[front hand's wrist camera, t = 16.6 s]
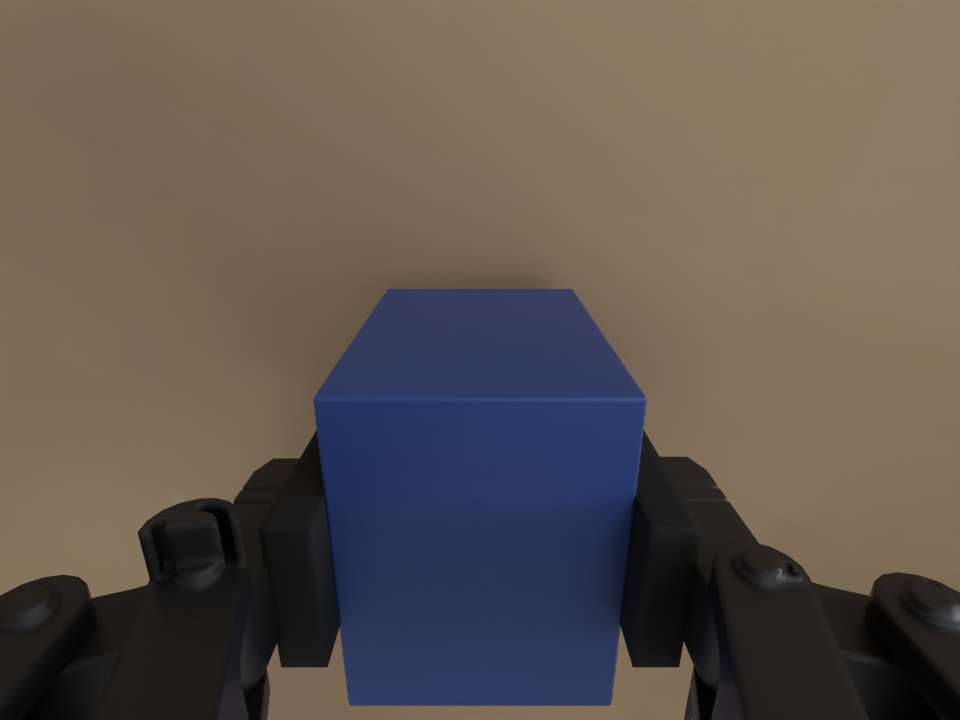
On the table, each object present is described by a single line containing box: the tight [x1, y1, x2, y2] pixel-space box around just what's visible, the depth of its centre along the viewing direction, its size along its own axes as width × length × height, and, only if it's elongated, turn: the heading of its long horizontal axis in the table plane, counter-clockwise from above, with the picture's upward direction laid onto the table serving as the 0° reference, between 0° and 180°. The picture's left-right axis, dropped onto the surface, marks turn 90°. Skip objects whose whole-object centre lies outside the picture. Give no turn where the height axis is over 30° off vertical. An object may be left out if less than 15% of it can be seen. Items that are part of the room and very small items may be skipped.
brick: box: [314, 289, 647, 706], centre depth 13 cm, size 5×6×7 cm
